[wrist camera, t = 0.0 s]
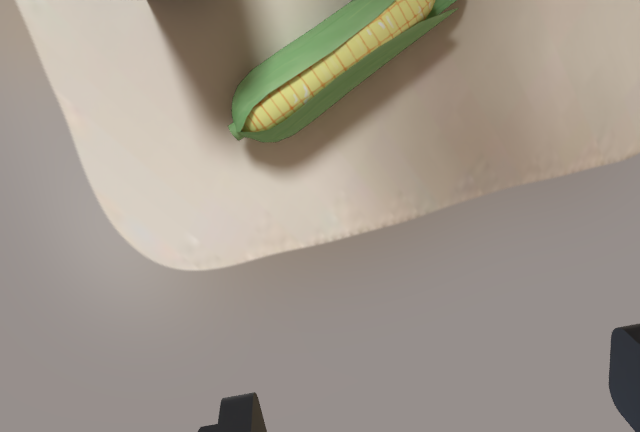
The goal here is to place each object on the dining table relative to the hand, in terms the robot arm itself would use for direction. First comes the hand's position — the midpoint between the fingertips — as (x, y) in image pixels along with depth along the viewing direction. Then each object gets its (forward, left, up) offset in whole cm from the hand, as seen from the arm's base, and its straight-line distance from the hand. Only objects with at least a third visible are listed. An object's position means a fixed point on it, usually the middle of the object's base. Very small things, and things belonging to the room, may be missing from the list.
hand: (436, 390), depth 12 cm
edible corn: (-5, +2, -31) cm, 31 cm away
